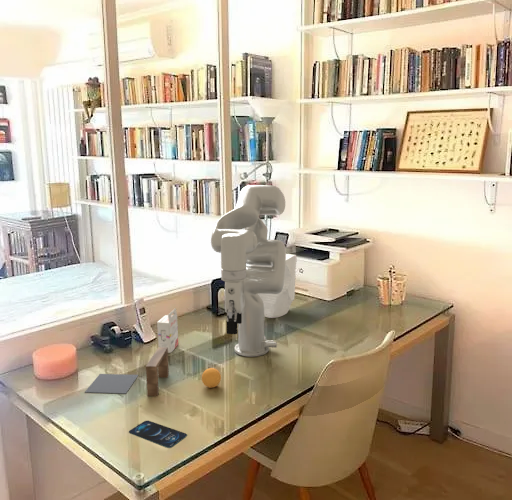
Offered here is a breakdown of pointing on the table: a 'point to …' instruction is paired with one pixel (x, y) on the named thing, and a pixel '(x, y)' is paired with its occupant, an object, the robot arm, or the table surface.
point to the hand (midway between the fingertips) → (234, 328)
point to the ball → (211, 377)
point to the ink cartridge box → (168, 331)
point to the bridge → (156, 370)
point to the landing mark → (112, 383)
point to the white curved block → (281, 302)
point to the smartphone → (158, 434)
